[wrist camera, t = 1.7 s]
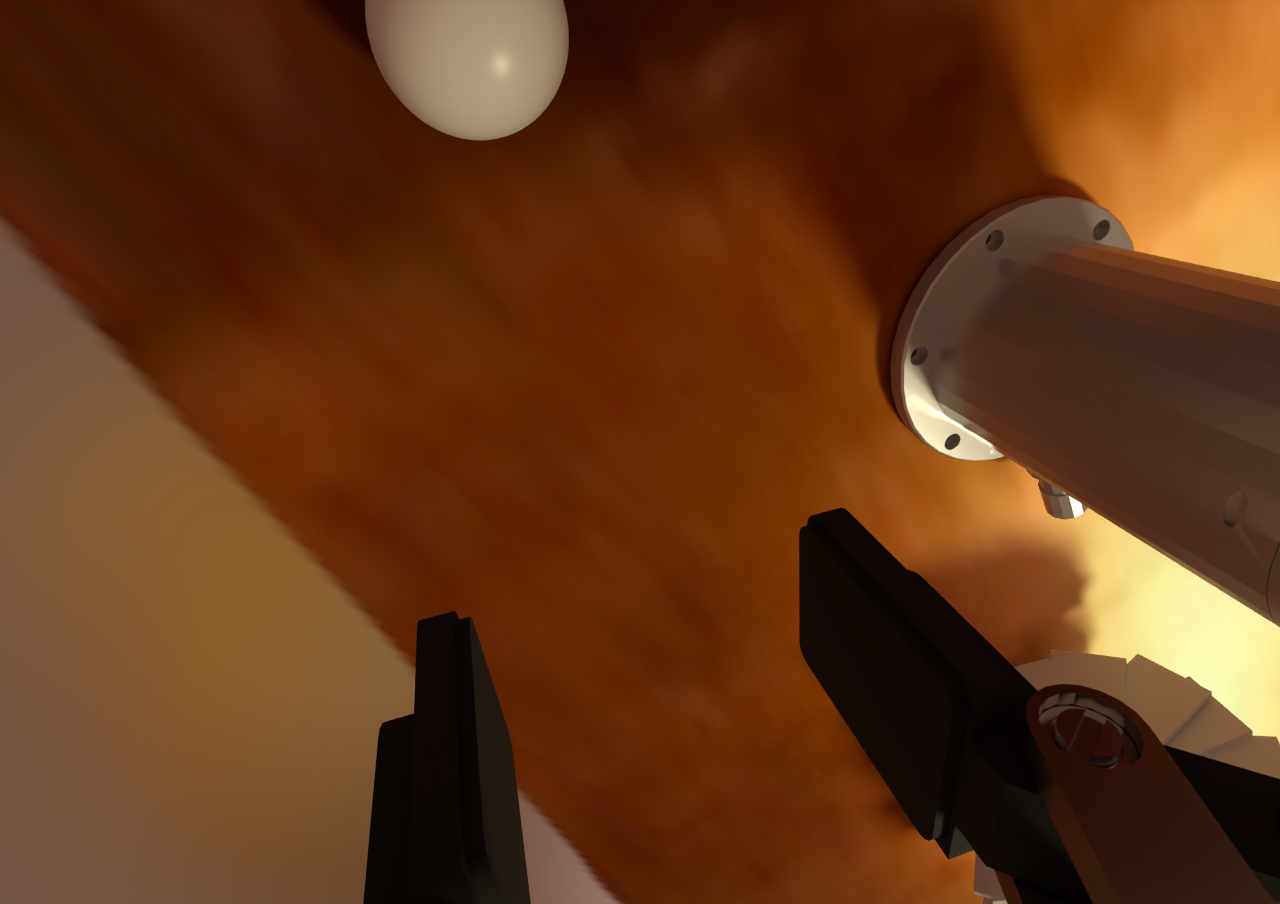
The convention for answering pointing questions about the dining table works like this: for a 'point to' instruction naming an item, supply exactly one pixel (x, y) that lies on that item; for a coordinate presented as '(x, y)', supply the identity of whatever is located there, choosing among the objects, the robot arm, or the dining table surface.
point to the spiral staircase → (1150, 718)
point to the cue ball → (471, 60)
